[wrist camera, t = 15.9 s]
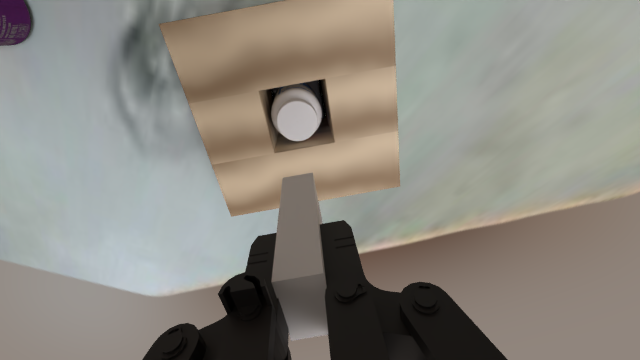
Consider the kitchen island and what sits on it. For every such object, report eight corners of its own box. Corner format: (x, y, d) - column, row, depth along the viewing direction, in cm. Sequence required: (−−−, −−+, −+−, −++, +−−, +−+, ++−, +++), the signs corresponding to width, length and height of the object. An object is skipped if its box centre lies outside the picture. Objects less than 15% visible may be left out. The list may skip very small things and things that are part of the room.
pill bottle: (302, 130, 38) (305, 158, 29) (267, 108, 36) (258, 132, 28) (325, 95, 36) (335, 113, 27) (288, 70, 34) (286, 82, 26)
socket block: (196, 26, 33) (158, 24, 24) (366, -5, 33) (392, -20, 24) (245, 178, 42) (231, 216, 33) (378, 154, 42) (399, 186, 33)
